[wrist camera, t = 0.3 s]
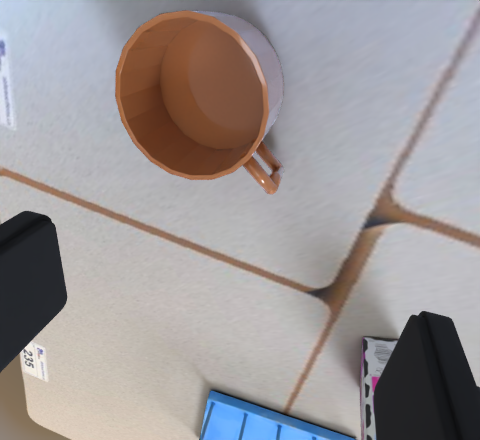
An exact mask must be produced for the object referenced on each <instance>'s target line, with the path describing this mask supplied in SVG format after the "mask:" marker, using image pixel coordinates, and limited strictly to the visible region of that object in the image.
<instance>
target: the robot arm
mask: <svg viewBox="0 0 480 440" xmlns="http://www.w3.org/2000/svg"><path fill="white" fill-rule="evenodd" d="M66 301H67V292H66V286H65V280H64V274H63V268H62V262H61V257H60V251H59V245H58V239H57V233H56V227H55V225H54V224H53V223H52V221H51V219H50V218H49V217H48V216H46V215H42V214H39V213H35V212H31V211H24V212H21V213H20V214H18V215H16V216H14V217H13V218H11V219H9V220H8V221H6V222H4V223H3V224H1V225H0V372H1V371H2V370H3V369H4V368H5V367H6V366H7V365H8V364H9V363H10V362H11V361H12V360H13V359H14V358H15V357H16V356H17V355H18V354H19V353H20V352H21V351H22V350H23V349H24V348H25V347H26V346H27V345H28V344H29V343H30V341H31V340H32V339H33V338H34V337H35V336H36V335H37V334H38V333H39V332H40V331H41V330H42V329H43V328H44V327H45V326H46V325H47V324H48V323H49V322H50V321H51V320H52V319H53V318H54V317H55V316H56V315H57V314H58V313H59V312H60V311H61V310H62V309H63V307H64V306H65V304H66ZM373 404H374V417H375V430H376V440H480V387H478V386H476V383H475V380H474V378H473V375H472V372H471V369H470V367H469V364H468V361H467V359H466V356H465V353H464V350H463V348H462V345H461V342H460V339H459V337H458V334H457V331H456V328H455V326H454V323H453V321H452V319H451V318H449V317H446V316H442V315H438V314H434V313H430V312H426V311H422V312H421V313H420V314H419V315H418V316H416V315H412V316H410V318H409V320H408V322H407V324H406V326H405V328H404V330H403V332H402V334H401V336H400V338H399V340H398V342H397V344H396V346H395V348H394V350H393V352H392V354H391V356H390V358H389V360H388V362H387V364H386V366H385V368H384V370H383V372H382V374H381V376H380V378H379V380H378V382H377V384H376V386H375V389H374V395H373Z"/></svg>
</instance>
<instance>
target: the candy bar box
mask: <svg viewBox="0 0 480 440" xmlns="http://www.w3.org/2000/svg"><path fill="white" fill-rule="evenodd" d="M397 342H398V340H391V339H381V338H374V337H363V341H362V357H361V374H360V409H361V440H376V430H375V417H374V404H373V395H374V389H375V386H376V384H377V382H378V380H379V378H380V376H381V374H382V372H383V370H384V368H385V366H386V364H387V362H388V360H389V358H390V356H391V354H392V352H393V350H394V348H395V346H396V344H397Z"/></svg>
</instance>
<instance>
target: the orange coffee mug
mask: <svg viewBox="0 0 480 440" xmlns="http://www.w3.org/2000/svg"><path fill="white" fill-rule="evenodd" d="M283 93H284V81H283V73H282V68H281V64H280V62H279V59H278V56H277V54H276V52H275V50H274V48H273V46H272V45H271V43H270V42H269V40H268V39H267V38H266V37H265V36H264V34H263V33H262V32H261V31H260V30H258V29H257V28H256V27H255V26H254V25H252V24H251V23H249V22H247V21H246V20H244V19H242V18H240V17H237V16H233V15H230V14H225V13H220V12H209V11H193V10H183V11H176V12H170V13H163V14H159V15H158V16H156V17H154V18H153V19H151V20H149V21H148V22H146V23H144V24H143V25H141V26H140V27H138V29H137V30H136V31H135V33H134V34H133V35H132V37H131V38H130V39H129V41H128V42H127V43H126V45H125V46H124V48H123V50H122V53H121V56H120V60H119V63H118V66H117V69H116V88H115V97H116V101H117V105H118V109H119V113H120V117H121V121H122V123H123V125H124V127H125V128H126V130H127V132H128V134H129V136H130V138H131V139H132V141H133V143H134V144H135V145H136V146H137V147H138V149H139V150H140V151H141V152H142V153H143V154H144V155H145V156H146V157H147V158H148V159H149V160H150V161H151V162H152V163H154V164H156V165H157V166H159V167H160V168H162V169H163V170H165V171H167V172H168V173H170V174H173V175H177V176H180V177H183V178H187V179H190V180H212V179H216V178H219V177H221V176H224V175H227V174H230V173H233V172H234V171H236V170H237V169H238V168H239V167H241V166H242V165H243V166H244V168H245V169H246V170H247V171H248V172H249V173H250V175H251V176H252V177H253V178H254V179H255V180H256V181H257V183H258V184H259V185H260V186H261V187H262V188H263V190H264V191H265V192H266V193H267V194H270V195H271V194H274V193H275V192H276V191H277V189H278V186H279V184H280V181H281V179H282V176H283V173H284V167H283V166H282V164H281V163H280V162H279V161H278V160H277V158H276V157H275V156H274V155H273V154H272V152H271V151H270V150H269V149H268V148H267V146H266V145H265V144H264V143H263V142H262V141H263V139H264V138H265V136H266V135H267V133H268V132H269V130H270V128H271V127H272V125H273V124H274V122H275V120H276V119H277V117H278V115H279V111H280V108H281V105H282V100H283ZM255 152H256V153H257V154H258V155H259V157H260V158H261V159H262V160H263V161H264V162H265V164H266V165H267V166H268V167H269V168H270V170H271V174H270V176H269V175H268V174H267V173H266V172H265V171H264V169H263V168H262V167H261V166H260V165H259V163H258V162H257V161H256V160H255V159H254V158H253V154H254V153H255Z"/></svg>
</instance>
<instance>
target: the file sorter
mask: <svg viewBox="0 0 480 440" xmlns="http://www.w3.org/2000/svg"><path fill="white" fill-rule="evenodd" d="M199 440H356V439H353V438H351V437H348V436H345V435H342V434H339V433H336V432H333V431H330V430H327V429H324V428H321V427H318V426H315V425H312V424H309V423H306V422H303V421H300V420H297V419H294V418H291V417H288V416H285V415H282V414H280V413H277V412H274V411H271V410H268V409H265V408H262V407H259V406H256V405H253V404H250V403H247V402H244V401H241V400H238V399H235V398H232V397H229V396H226V395H223V394H220V393H217V392H214V391H210V393H209V397H208V400H207V405H206V410H205V415H204V420H203V425H202V430H201V435H200V439H199Z"/></svg>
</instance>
